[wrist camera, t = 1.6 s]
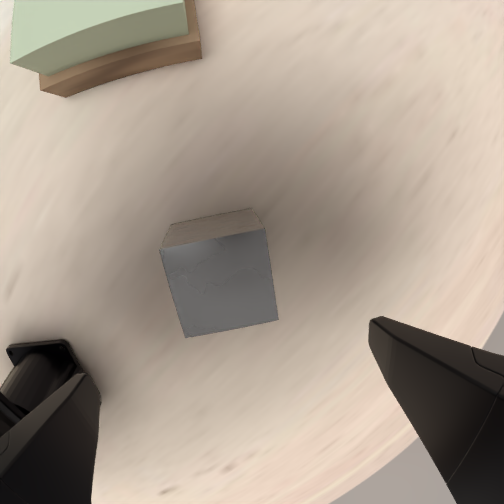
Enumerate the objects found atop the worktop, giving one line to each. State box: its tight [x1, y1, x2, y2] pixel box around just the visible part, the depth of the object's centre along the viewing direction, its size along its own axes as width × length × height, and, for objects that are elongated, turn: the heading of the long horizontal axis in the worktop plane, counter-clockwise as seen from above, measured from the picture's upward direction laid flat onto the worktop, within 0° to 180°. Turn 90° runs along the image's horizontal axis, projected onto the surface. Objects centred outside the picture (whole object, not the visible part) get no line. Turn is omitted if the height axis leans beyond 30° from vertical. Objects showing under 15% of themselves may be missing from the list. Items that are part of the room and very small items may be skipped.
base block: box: [39, 0, 202, 97], centre depth 11 cm, size 8×8×4 cm
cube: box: [159, 208, 279, 338], centre depth 16 cm, size 4×4×4 cm
